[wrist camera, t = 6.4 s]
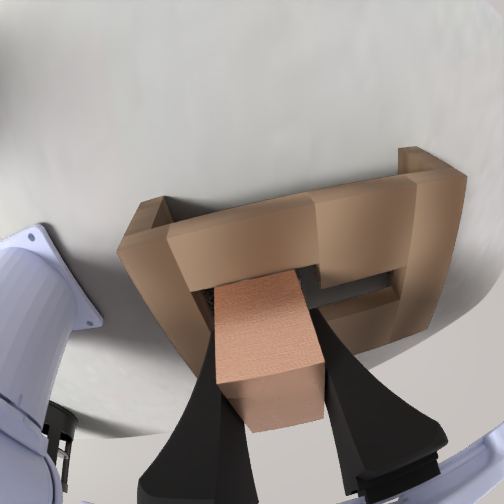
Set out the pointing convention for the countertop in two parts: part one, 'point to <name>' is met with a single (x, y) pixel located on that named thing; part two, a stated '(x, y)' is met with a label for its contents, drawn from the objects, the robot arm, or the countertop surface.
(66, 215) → the countertop surface
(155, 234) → the keyhole plate
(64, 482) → the french press
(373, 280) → the countertop surface
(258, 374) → the peg
